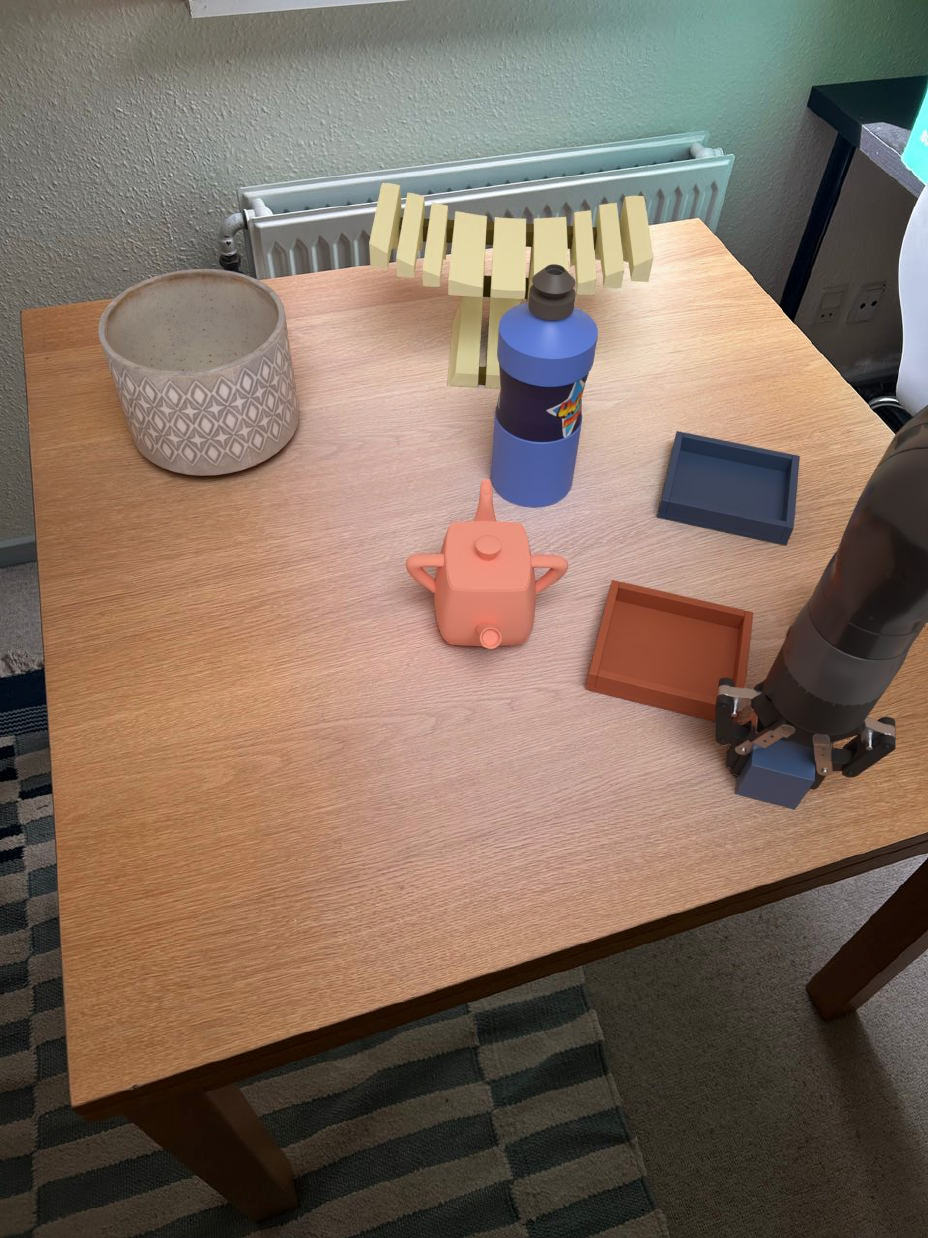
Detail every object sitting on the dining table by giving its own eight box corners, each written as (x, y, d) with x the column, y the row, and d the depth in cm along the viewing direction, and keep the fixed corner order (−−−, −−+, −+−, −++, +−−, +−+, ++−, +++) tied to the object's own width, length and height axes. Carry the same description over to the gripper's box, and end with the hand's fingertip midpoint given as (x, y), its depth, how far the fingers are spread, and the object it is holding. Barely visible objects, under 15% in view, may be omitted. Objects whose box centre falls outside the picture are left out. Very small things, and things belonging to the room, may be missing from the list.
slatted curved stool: (617, 318, 120) (642, 183, 106) (625, 394, 110) (653, 257, 96) (389, 306, 120) (384, 170, 106) (376, 381, 110) (369, 242, 97)
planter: (331, 408, 107) (320, 298, 96) (236, 507, 97) (211, 397, 85) (202, 361, 112) (176, 251, 101) (98, 450, 102) (57, 338, 90)
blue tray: (792, 473, 102) (800, 455, 100) (786, 545, 95) (793, 528, 93) (671, 448, 104) (676, 430, 102) (656, 517, 98) (661, 499, 95)
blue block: (798, 759, 80) (817, 729, 76) (795, 810, 77) (814, 781, 73) (740, 745, 80) (756, 714, 76) (735, 794, 77) (751, 765, 73)
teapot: (579, 630, 88) (593, 559, 80) (485, 695, 83) (490, 626, 75) (482, 545, 94) (487, 471, 86) (390, 600, 89) (386, 527, 82)
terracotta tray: (746, 628, 88) (753, 611, 86) (734, 727, 81) (742, 711, 79) (607, 596, 90) (612, 579, 88) (584, 689, 84) (588, 673, 81)
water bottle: (588, 471, 102) (626, 263, 82) (545, 520, 97) (574, 311, 77) (517, 439, 105) (537, 231, 85) (472, 484, 100) (482, 275, 80)
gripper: (730, 675, 64) (679, 790, 77) (945, 727, 62) (853, 836, 75) (741, 596, 68) (690, 718, 82) (941, 641, 66) (855, 759, 79)
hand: (769, 774), depth 78 cm, fingers closed on blue block, 5 cm apart
